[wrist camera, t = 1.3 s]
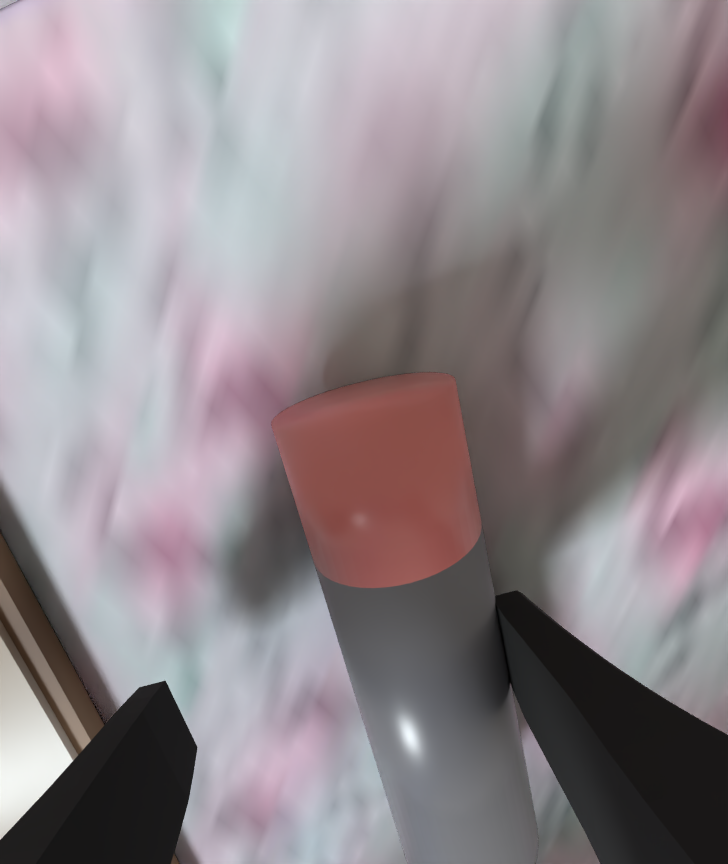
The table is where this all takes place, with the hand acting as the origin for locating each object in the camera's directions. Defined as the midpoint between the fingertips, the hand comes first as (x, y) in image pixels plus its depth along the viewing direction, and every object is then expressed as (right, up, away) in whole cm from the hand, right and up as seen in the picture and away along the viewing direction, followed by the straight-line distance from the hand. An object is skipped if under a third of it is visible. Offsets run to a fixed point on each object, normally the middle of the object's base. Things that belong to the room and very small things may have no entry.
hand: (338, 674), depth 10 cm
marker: (0, 0, +1) cm, 1 cm away
